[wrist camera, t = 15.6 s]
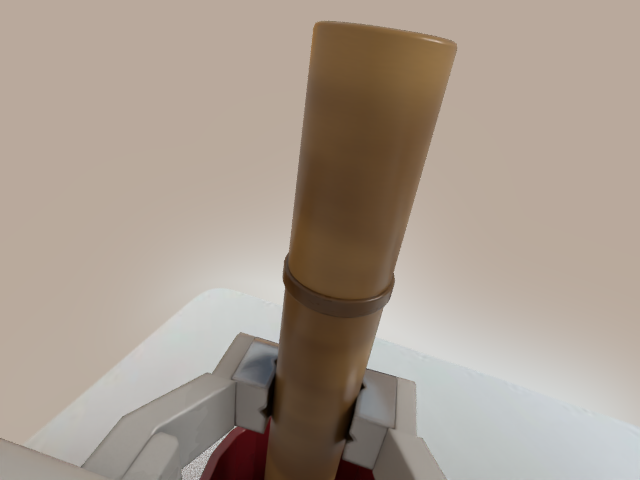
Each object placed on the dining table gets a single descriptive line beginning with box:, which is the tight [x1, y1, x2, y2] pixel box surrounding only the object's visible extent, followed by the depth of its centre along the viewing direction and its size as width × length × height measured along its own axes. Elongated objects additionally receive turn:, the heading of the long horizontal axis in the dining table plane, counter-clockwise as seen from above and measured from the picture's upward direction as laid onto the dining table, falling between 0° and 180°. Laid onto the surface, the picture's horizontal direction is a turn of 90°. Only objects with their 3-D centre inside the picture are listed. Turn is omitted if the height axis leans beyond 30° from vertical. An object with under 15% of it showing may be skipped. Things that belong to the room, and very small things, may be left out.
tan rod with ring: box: [264, 21, 457, 480], centre depth 10 cm, size 2×2×21 cm
